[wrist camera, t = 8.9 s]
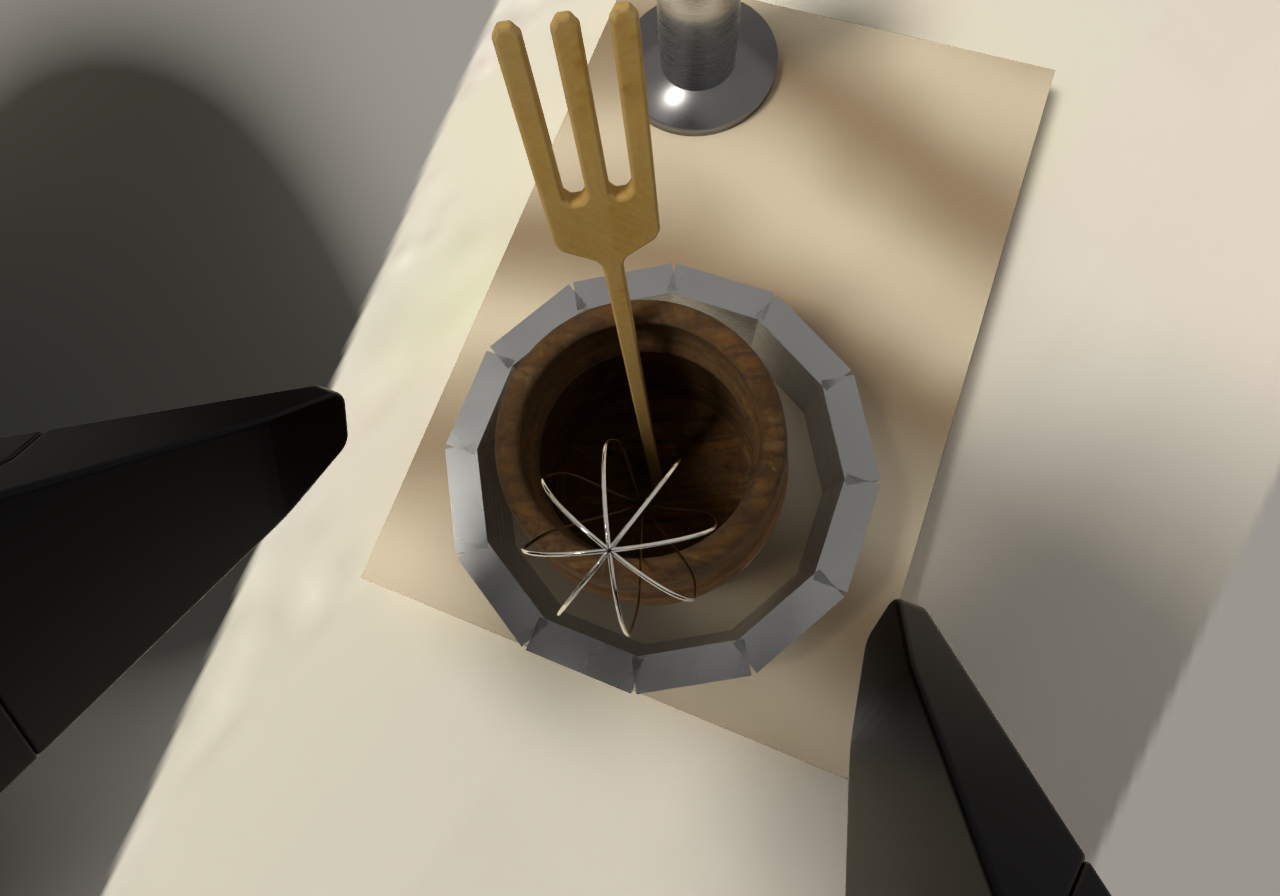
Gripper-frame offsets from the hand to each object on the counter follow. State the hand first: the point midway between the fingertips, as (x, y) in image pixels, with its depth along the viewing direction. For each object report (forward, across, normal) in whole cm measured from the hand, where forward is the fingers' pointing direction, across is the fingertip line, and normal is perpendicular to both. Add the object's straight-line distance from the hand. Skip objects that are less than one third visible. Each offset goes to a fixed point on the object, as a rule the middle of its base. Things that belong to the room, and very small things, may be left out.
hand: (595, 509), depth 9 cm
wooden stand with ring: (+11, 0, +1) cm, 11 cm away
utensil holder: (+7, 0, +4) cm, 8 cm away
